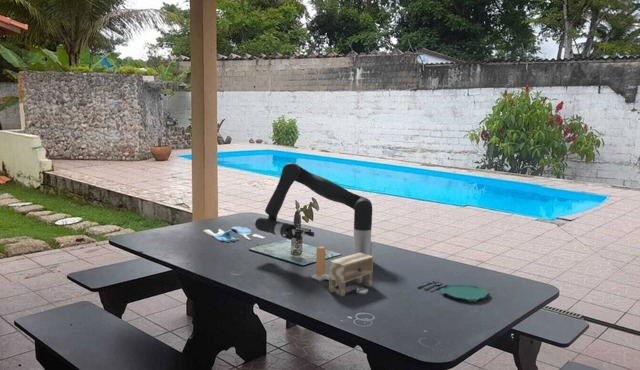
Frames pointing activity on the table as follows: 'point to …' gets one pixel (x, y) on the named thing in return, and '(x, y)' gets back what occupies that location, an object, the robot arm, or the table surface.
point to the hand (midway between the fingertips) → (307, 236)
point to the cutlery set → (461, 291)
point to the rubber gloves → (227, 237)
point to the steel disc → (362, 291)
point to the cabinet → (350, 271)
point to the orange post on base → (321, 265)
